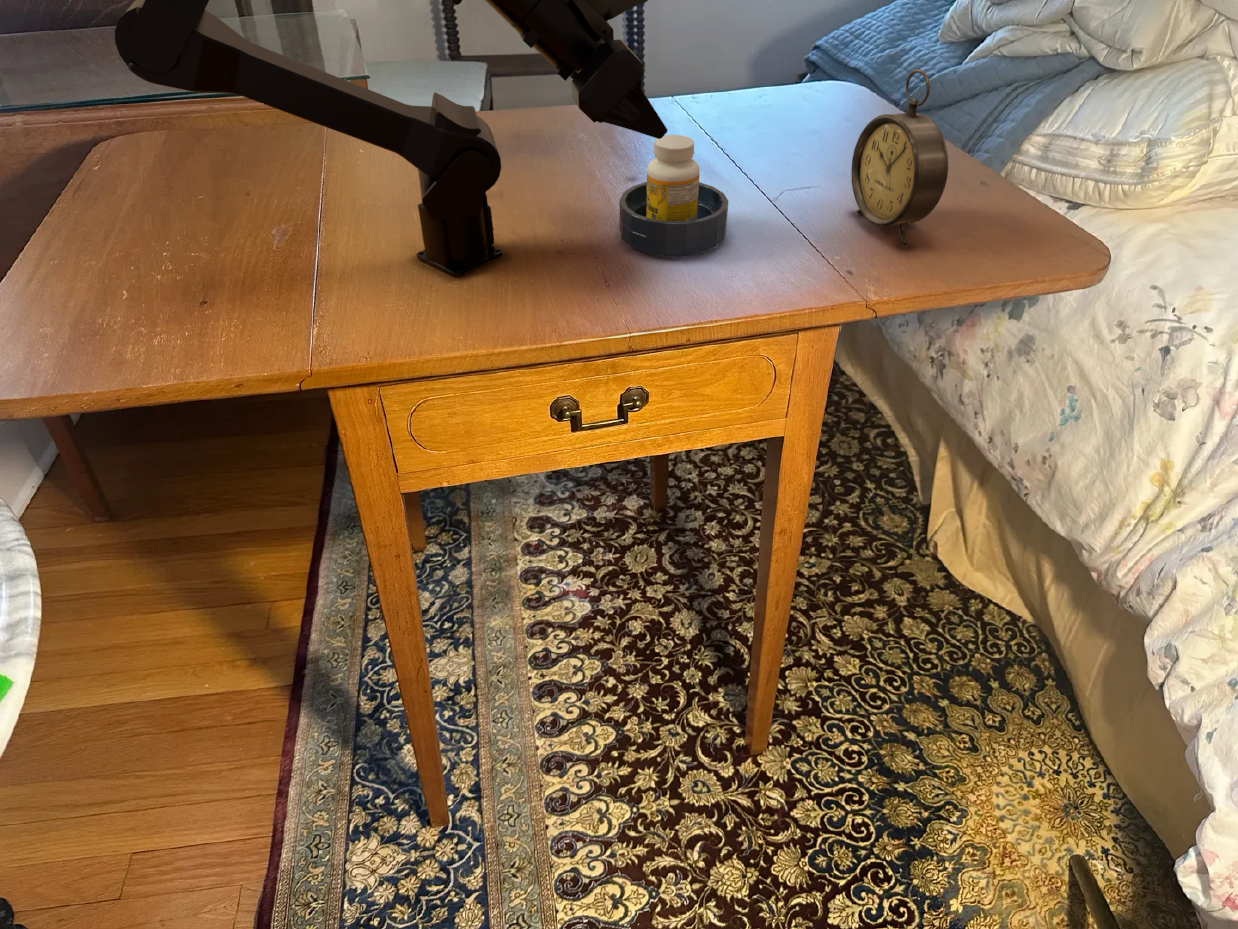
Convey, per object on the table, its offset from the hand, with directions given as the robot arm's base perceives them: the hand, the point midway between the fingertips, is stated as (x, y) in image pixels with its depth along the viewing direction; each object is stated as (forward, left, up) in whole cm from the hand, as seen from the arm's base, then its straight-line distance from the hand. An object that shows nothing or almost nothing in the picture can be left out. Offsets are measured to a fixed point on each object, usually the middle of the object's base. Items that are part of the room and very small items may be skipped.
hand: (652, 118), depth 84 cm
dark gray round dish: (+2, -2, -12) cm, 13 cm away
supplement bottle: (+2, -1, -12) cm, 12 cm away
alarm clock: (+19, -18, -13) cm, 29 cm away
